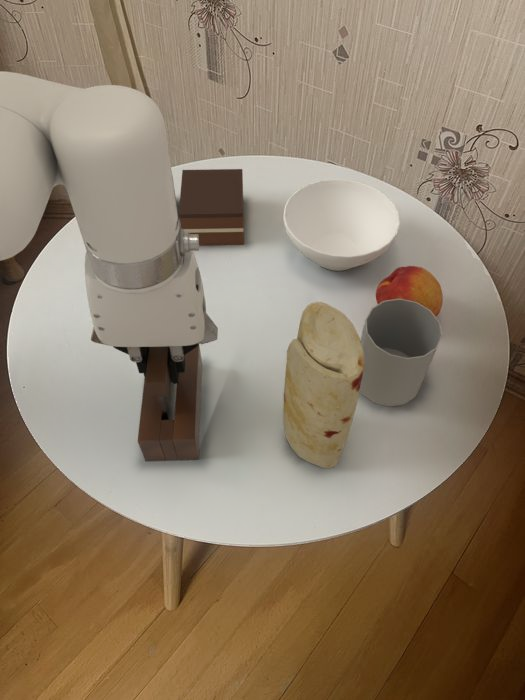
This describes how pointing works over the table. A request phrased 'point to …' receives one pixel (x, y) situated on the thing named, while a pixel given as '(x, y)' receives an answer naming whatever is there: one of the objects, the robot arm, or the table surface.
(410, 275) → the fruit
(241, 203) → the cake
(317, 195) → the bowl
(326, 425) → the food model
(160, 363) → the knife
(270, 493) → the table surface
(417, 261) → the table surface
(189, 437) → the knife block
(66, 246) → the table surface
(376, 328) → the cup
